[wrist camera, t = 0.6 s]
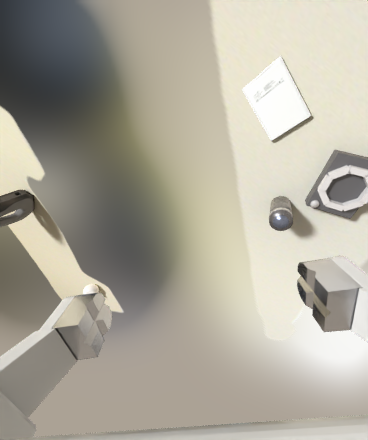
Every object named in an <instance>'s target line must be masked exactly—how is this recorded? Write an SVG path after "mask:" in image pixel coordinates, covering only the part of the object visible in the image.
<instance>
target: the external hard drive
mask: <svg viewBox="0 0 368 440" xmlns="http://www.w3.org/2000/svg"><path fill="white" fill-rule="evenodd" d="M242 91H243V93H244V94H245V96H246V98H247V100H248V101H249V103H250V105H251V107H252V109H253V110H254V112H255V114H256V116H257V117H258V119H259V121H260V123H261V124H262V126H263V128H264V130H265V131H266V133H267V135H268V137H269V138H270V140H271V141H272V140H274V139H275V138H277V137H278V136H280V135H282V134H283V133H285V132H286V131H288V130H290V129H291V128H293V127H294V126H296V125H297V124H299V123H301V122H302V121H304V120H305V119H307V118H308V117H310V116H311V114H310V112H309V110H308V108H307V106H306V104H305V102H304V100H303V98H302V96H301V94H300V92H299V90H298V88H297V86H296V84H295V82H294V80H293V79H292V77H291V75H290V73H289V71H288V69H287V67H286V65H285V63H284V61H283V59H282V57H281V56H280V57H278V58H277V59H276V60H275V61H274V62H273V63H271V64H270V65H269V66H268V67H267V68H266V69H265V70H264V71H262V72H261V73H260V74H259V75H258V76H257V77H255V78H254V79H253V80H252V81H251V82H250V83H249V84H247V85H246V86H245V87H244V88H243V89H242Z"/></svg>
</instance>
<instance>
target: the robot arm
mask: <svg viewBox="0 0 368 440" xmlns="http://www.w3.org/2000/svg"><path fill="white" fill-rule="evenodd" d="M298 272H299V274H300V275H301V276H300V278H299V279H298V280H297V287H298V291H299V294H300V297H301V299H302V300H303V302H304V303H305V305H306V306H308V307H310V308H311V309H313V317H314V318H315V320H316V321H317V323H318V324H319V325H320V327H321V329H322V330H323V331H324V332H331V331H342V330H351V331H352V332H353V333H355V334H356V335H358V336H359V337H361V338H362V339H364V340H365V341H367V342H368V274H367V273H365V272H364V271H363V270H362V269H360V268H359V267H358V266H357V265H355V264H354V263H353V262H351V261H350V260H349V259H348V258H346V257H344V256H336V257H330V258H327V259H320V260H313V261H307V262H300V263H299V264H298ZM104 301H105V298H104V296H103V294H102V293H91V294H83V295H77V296H69V297H66V298H64V299H63V300H62V301H61V303H60V304H59V305H58V307H57V308H56V309H55V310H54V312H53V313H52V314H51V316H50V317H49V318H48V320H47V321H46V322H45V323H44V325H43V326H42V327H41V329H40V330H39V331H35V332H34V333H32V334H31V335H29V336H28V337H27V338H25V339H24V340H23V341H21V342H20V343H18V344H17V345H16V346H14V347H13V348H12V349H10V350H9V351H7V352H6V353H5V354H3V355H2V356H1V357H0V440H368V415H359V416H343V417H328V418H313V419H297V420H282V421H269V422H268V421H267V422H252V423H236V424H221V425H208V426H207V425H206V426H191V427H178V428H177V427H176V428H161V429H147V430H130V431H117V432H116V431H115V432H101V433H85V434H70V435H56V436H41V437H33V436H34V434H35V431H36V425H35V424H34V423H33V422H32V421H30V419H29V418H28V417H29V416H30V415H31V414H32V412H33V411H34V410H35V409H36V408H37V407H38V406H39V405H40V404H41V402H42V401H43V400H44V399H45V397H47V395H48V394H49V393H50V392H51V391H52V390H53V389H54V387H55V386H56V385H57V384H58V383H59V382H60V381H61V379H62V378H63V377H64V376H65V375H66V374H67V373H68V371H69V370H70V369H71V368H72V367H73V365H75V363H76V362H77V360H82V359H89V358H95V357H98V355H99V352H100V350H101V347H102V345H103V343H104V337H103V335H104V334H105V333H106V332H107V331H108V330H109V328H110V325H111V321H112V313H111V310H110V308H109V306H107V305H106V304H104Z"/></svg>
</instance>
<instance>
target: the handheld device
mask: <svg viewBox="0 0 368 440" xmlns="http://www.w3.org/2000/svg"><path fill="white" fill-rule="evenodd" d="M15 210H16V211H15ZM33 210H34V203H33V195H30V194H28V193H27V192H25V190H17V191H14V192H11V193H8V194H5V195H2V196H0V217H1V216H3V215H5V214H8V213H10V212H13V211H15V213H14V214H11V215H8V216H4V217H1V218H0V227H2V226H5V225H9V224H12V223H15V222H17V221H20V220H22V219H24V218H25V217H27V216H28V215H29V214H30V213H31V212H33Z"/></svg>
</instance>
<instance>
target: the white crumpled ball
mask: <svg viewBox="0 0 368 440" xmlns="http://www.w3.org/2000/svg"><path fill="white" fill-rule="evenodd" d="M91 293H99V288H98V286H97V285H95V284H89V285H87V286H86V287H85V288H84V290H83V294H91Z"/></svg>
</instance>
